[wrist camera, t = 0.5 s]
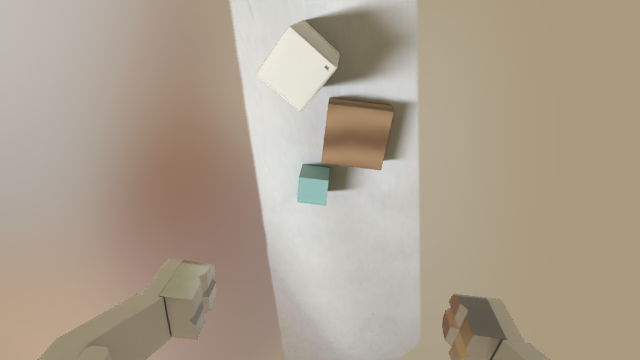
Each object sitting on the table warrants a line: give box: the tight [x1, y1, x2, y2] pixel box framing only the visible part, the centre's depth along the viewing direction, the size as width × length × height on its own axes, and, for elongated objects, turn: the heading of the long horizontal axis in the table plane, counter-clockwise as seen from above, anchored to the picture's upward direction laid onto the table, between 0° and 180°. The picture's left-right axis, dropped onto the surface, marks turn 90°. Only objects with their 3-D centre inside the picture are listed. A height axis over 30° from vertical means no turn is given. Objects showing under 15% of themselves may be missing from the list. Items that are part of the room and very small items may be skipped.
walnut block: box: [321, 98, 394, 170], centre depth 53 cm, size 10×10×4 cm
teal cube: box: [297, 165, 330, 206], centre depth 58 cm, size 5×5×5 cm
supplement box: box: [256, 20, 340, 112], centre depth 44 cm, size 7×7×13 cm
